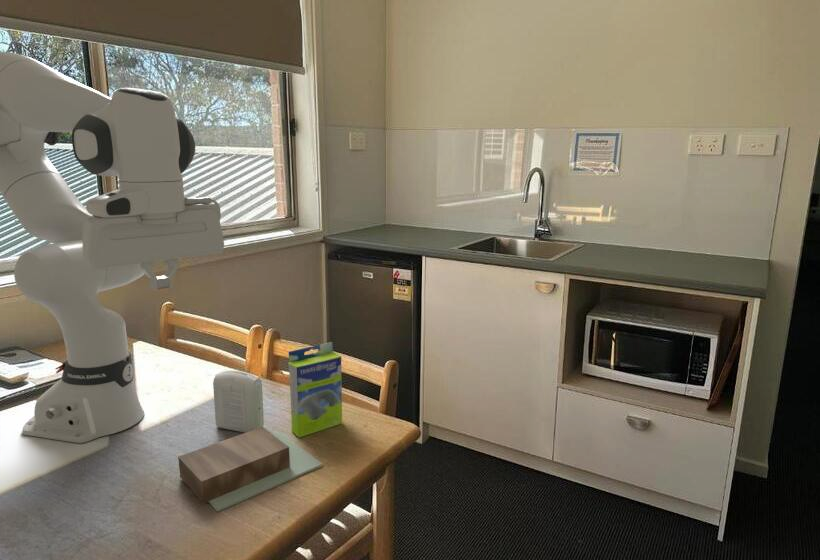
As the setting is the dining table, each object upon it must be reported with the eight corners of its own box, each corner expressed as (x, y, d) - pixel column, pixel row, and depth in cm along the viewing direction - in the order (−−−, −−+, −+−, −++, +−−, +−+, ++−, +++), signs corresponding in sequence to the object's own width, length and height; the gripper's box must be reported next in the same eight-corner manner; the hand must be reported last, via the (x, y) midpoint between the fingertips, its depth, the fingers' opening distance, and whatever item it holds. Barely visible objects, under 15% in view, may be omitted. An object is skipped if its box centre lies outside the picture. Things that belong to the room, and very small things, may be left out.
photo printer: (267, 426, 118) (264, 371, 115) (256, 436, 114) (252, 379, 111) (225, 419, 121) (221, 365, 118) (212, 428, 117) (208, 372, 114)
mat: (217, 511, 90) (217, 509, 90) (179, 469, 102) (179, 467, 102) (322, 465, 103) (322, 463, 103) (278, 433, 115) (278, 431, 115)
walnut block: (201, 481, 91) (289, 447, 101) (178, 456, 98) (262, 426, 108) (203, 503, 92) (290, 467, 102) (180, 477, 99) (263, 445, 109)
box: (299, 439, 113) (295, 357, 109) (289, 430, 116) (286, 351, 112) (344, 423, 119) (342, 346, 115) (334, 416, 122) (332, 341, 118)
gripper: (211, 195, 95) (217, 275, 98) (73, 202, 81) (85, 295, 84) (227, 197, 90) (233, 281, 93) (84, 205, 77) (97, 303, 80)
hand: (162, 288), depth 89 cm, fingers closed
